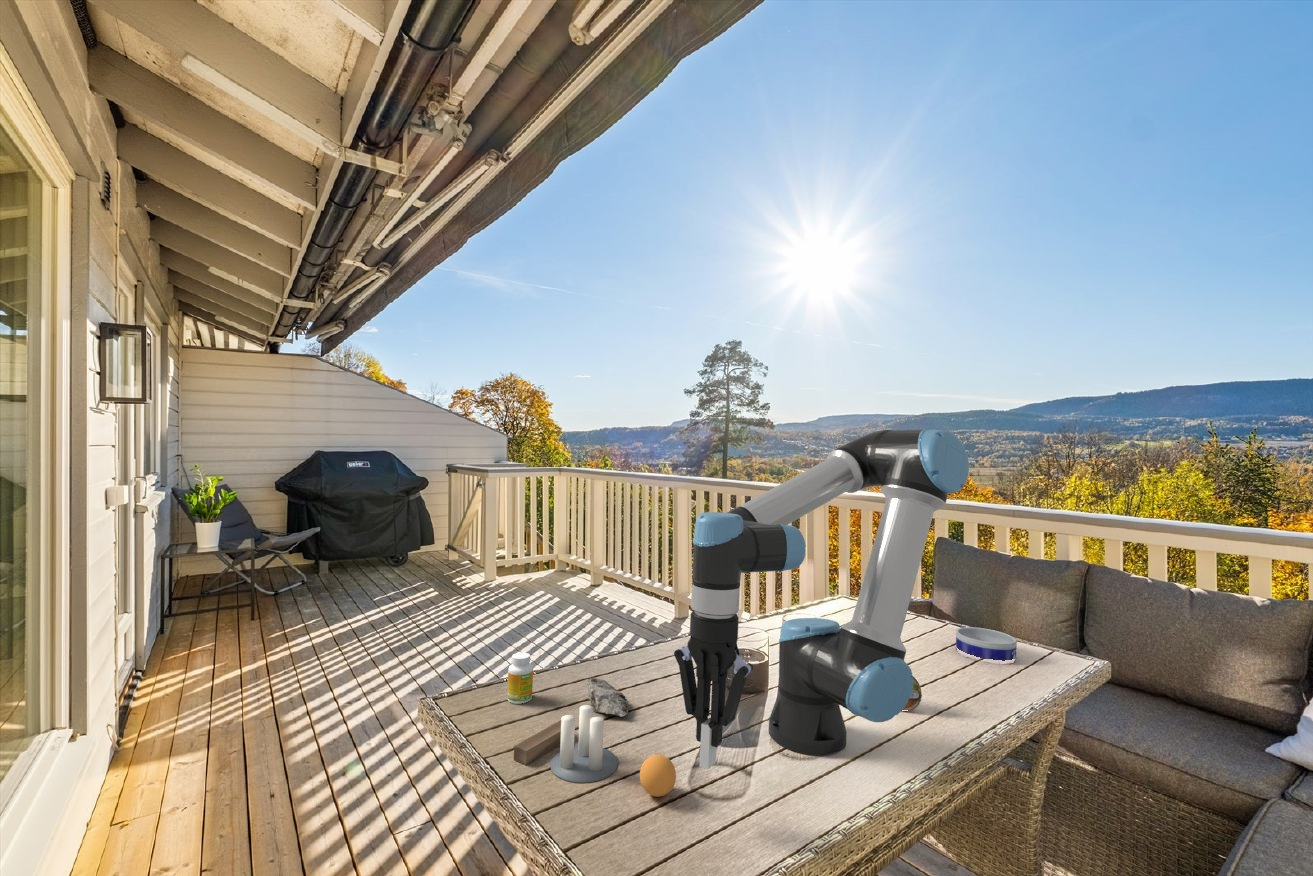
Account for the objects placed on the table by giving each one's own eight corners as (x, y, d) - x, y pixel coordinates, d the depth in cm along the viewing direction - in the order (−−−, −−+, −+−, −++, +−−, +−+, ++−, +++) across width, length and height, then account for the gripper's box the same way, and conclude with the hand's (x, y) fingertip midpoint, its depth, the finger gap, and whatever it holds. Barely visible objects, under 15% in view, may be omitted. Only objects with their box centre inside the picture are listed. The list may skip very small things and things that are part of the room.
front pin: (604, 767, 103) (606, 719, 104) (596, 773, 101) (598, 724, 102) (594, 763, 105) (595, 715, 105) (585, 769, 103) (587, 720, 103)
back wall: (573, 736, 114) (574, 723, 114) (525, 765, 103) (526, 751, 103) (562, 731, 116) (562, 719, 116) (513, 760, 105) (514, 746, 105)
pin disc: (630, 759, 106) (631, 758, 106) (589, 791, 96) (589, 790, 96) (580, 740, 113) (580, 739, 113) (535, 767, 103) (536, 766, 103)
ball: (682, 791, 97) (683, 755, 97) (663, 809, 92) (664, 771, 92) (651, 779, 100) (653, 744, 100) (631, 796, 95) (633, 759, 95)
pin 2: (593, 753, 108) (595, 707, 108) (585, 759, 106) (587, 712, 106) (583, 749, 109) (585, 704, 109) (575, 755, 107) (576, 708, 107)
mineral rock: (632, 721, 122) (633, 699, 122) (595, 724, 120) (595, 702, 120) (617, 692, 136) (618, 673, 136) (583, 695, 134) (584, 675, 134)
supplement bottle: (520, 706, 126) (522, 661, 126) (501, 700, 129) (503, 656, 129) (537, 697, 131) (538, 654, 131) (518, 692, 133) (520, 649, 134)
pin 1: (576, 765, 104) (577, 717, 104) (567, 771, 102) (568, 722, 102) (565, 761, 105) (567, 713, 105) (556, 767, 103) (558, 718, 103)
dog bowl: (967, 643, 180) (967, 623, 180) (1023, 657, 169) (1024, 636, 169) (947, 654, 170) (947, 633, 170) (1006, 669, 158) (1006, 647, 158)
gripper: (762, 615, 91) (756, 768, 90) (690, 600, 98) (683, 742, 98) (743, 625, 85) (735, 790, 84) (666, 609, 92) (659, 760, 91)
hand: (707, 764), depth 91 cm, fingers closed
